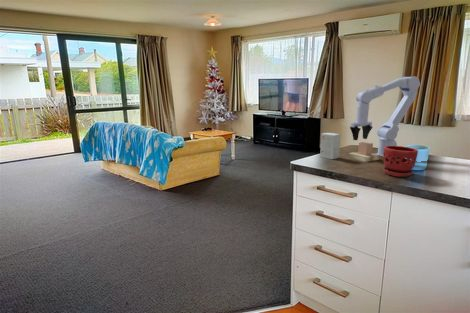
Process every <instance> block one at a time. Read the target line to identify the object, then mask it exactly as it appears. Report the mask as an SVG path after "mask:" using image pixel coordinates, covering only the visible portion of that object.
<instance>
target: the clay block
mask: <svg viewBox="0 0 470 313" xmlns="http://www.w3.org/2000/svg"><path fill="white" fill-rule="evenodd" d="M357 146H358V147H357V152H358V154H361V155H365V156H367V155H372V153H373V146H374V143H373V142H368V141H363V142H362V141H361V142H358V145H357Z"/></svg>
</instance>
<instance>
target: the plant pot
mask: <svg viewBox="0 0 470 313" xmlns="http://www.w3.org/2000/svg"><path fill="white" fill-rule="evenodd" d="M418 152H419V150H418V149H416V148H413V147H410V146H409V147H408V146H403V145H401V146H400V145H397V146H385V147H384V154H383V156H382V159H383V164H384V167H383V169H382V170H383V172H384V173H385V174H387V175H389V176H392V177H399V178H403V177H409V176H411V175H412V174H413V171H412V169H413V168H414V166H415V164H416V162H417V157H418Z"/></svg>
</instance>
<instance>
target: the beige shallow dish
mask: <svg viewBox="0 0 470 313" xmlns="http://www.w3.org/2000/svg"><path fill="white" fill-rule="evenodd" d="M347 156H348V157H347V158H348V159H352V160H357V161H359V162H364V163H366V162H373V161H378V160H380V157H381V156H380V155H378V154H375V153H373V152H372V155H367V156H365V155H361V154H358V151H355V152H349V153H348V155H347Z"/></svg>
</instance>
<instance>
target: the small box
mask: <svg viewBox="0 0 470 313" xmlns="http://www.w3.org/2000/svg"><path fill="white" fill-rule="evenodd" d="M320 134H321V136H320V140H321V141H320V154H319V156H320V158H324V159H331V160H334V159H339V158H340V149H341V148H340V146H341V133H334V132H323V133H320Z"/></svg>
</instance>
